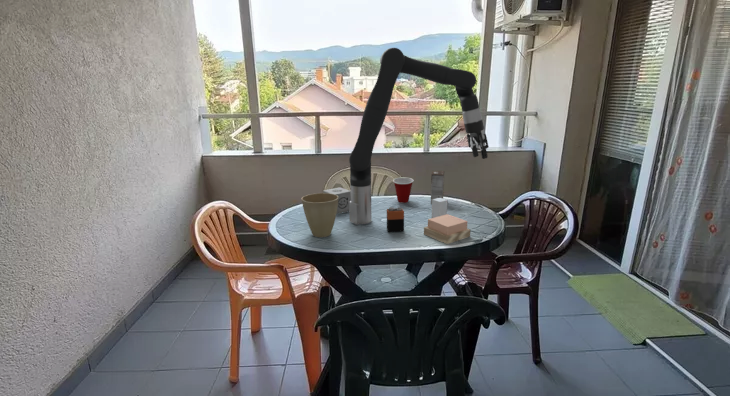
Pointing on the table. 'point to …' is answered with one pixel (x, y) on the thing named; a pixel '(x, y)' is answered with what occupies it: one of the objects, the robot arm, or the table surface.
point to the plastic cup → (403, 188)
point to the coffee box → (437, 184)
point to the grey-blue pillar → (439, 207)
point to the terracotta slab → (447, 224)
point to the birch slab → (446, 238)
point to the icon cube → (341, 198)
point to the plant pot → (320, 212)
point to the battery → (395, 219)
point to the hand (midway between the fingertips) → (480, 157)
